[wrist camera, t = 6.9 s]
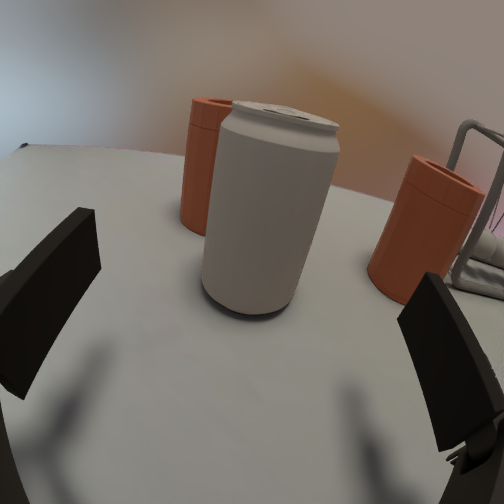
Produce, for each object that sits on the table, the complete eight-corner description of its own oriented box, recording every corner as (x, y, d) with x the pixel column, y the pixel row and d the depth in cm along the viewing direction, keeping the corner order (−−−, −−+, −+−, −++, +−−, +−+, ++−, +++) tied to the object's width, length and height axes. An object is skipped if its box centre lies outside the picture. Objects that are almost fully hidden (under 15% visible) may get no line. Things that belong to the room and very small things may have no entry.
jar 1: (268, 228, 28) (294, 114, 22) (207, 246, 23) (227, 108, 17) (224, 198, 32) (241, 100, 26) (167, 210, 27) (178, 96, 21)
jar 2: (437, 287, 25) (486, 191, 19) (418, 319, 20) (484, 198, 14) (384, 252, 29) (423, 156, 23) (354, 273, 24) (402, 153, 18)
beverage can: (191, 312, 17) (215, 101, 11) (209, 254, 23) (232, 95, 16) (293, 329, 18) (363, 134, 11) (289, 268, 23) (332, 116, 16)
